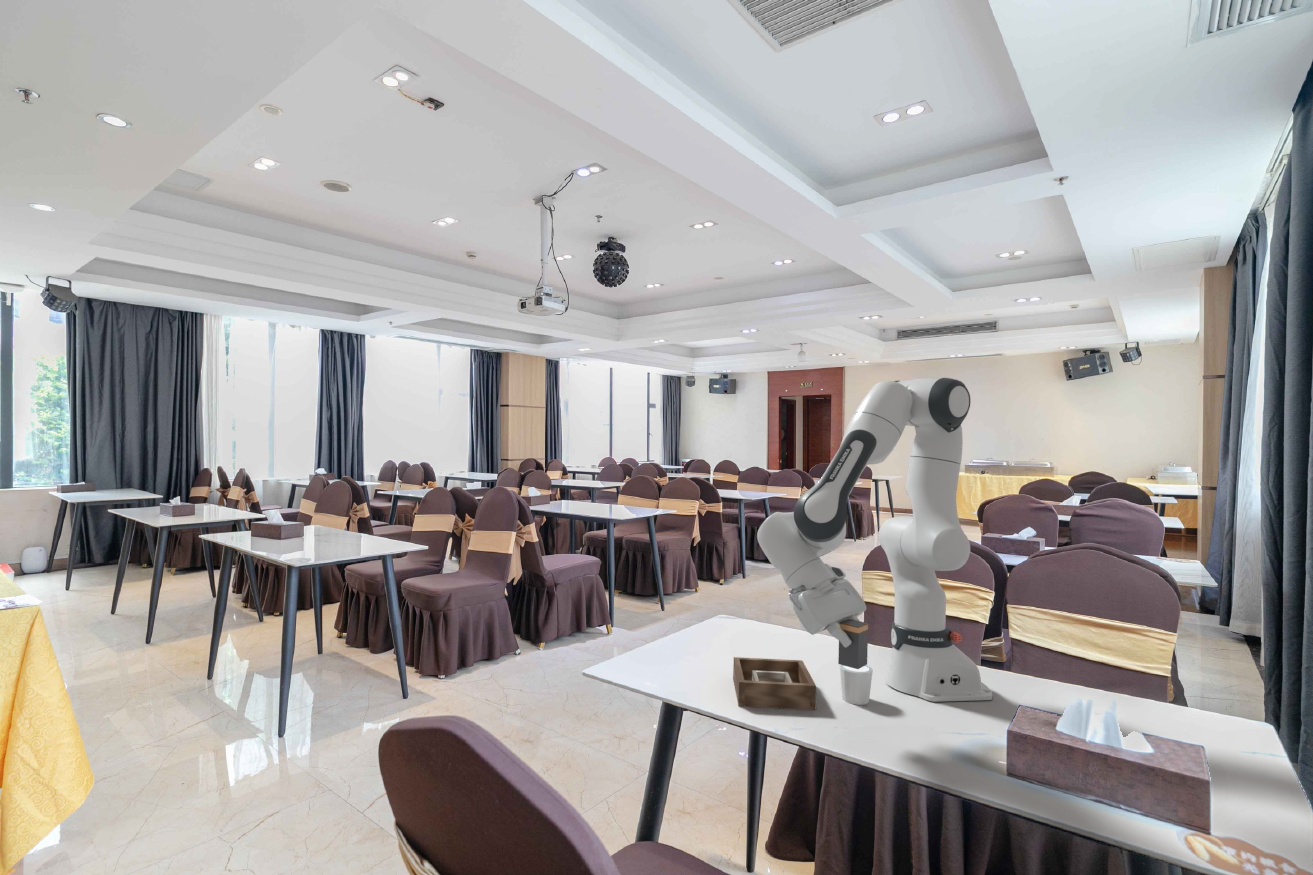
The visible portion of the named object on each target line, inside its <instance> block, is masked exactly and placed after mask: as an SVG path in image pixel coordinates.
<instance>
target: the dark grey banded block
mask: <svg viewBox="0 0 1313 875" xmlns="http://www.w3.org/2000/svg"><path fill="white" fill-rule="evenodd" d="M839 625H840V628H841V629H842V630H843V631H844V632H845V633H846V634H849V635H850V636H851V638H852V639H853V640H854V643H853V644H851V645H850V646H848V647H844V646H843V645H842V643H841V642H840V641H839V640H838V659H837V660H838V665H839V666H840V665H844V666H848V667H851V668H855V669H860V668H861V667H863V666H865V665H866V666H868V645H869V644H868V643H869V642H868V641H869V640H868V639H869V637H868V636H869V622H864V621H860V620H859V621H856V620H851V619H847V620H845V621H842V622H840V623H839Z"/></svg>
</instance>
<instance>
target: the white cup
mask: <svg viewBox="0 0 1313 875" xmlns="http://www.w3.org/2000/svg"><path fill="white" fill-rule="evenodd" d="M839 670H840V672H839V673H840V676H839V677H840V687H841V688H840V689H841V698H842V700H843V701H844V702H845V703H848V704H852V705H857V706H862V705H863V706H864V705H867V704H869V702H870V697H871V689H872V680H873V679H872V678H873V669H872V667H870V666H869V665H865V666H863V667H861V668H860V669H855V668H851V667H848V666H844V665H840V664H839Z"/></svg>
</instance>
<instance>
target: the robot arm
mask: <svg viewBox="0 0 1313 875" xmlns="http://www.w3.org/2000/svg"><path fill="white" fill-rule="evenodd" d="M971 401H972V400H971V395H970V391H969V390H968V388H967V386H966V385H965V383H964V382H963V381H961V380H959V379H956V378H955V379H954V378H952V377H951V378H950V377H941V378H938V377H937V378H936V377H918V378H917V377H916V378H912V379H905V380H882V381H879V382H877V383H875V384H874V385H873V386H872V387H871V388H870V389H869V390H868V392H867V393H866V395H865V396H864V397H863V398H862V400H861V402H860V403H859V404H858V406H857V407H856V410H854V413H853V415H852V416H851V418H850V420H849V422H848V424H847V427H846V428H845V431H844V433H843V436H842V437H843V438H842V440H841V443H840V444H839V445H840V446H839V448H838V450H837V451H836V453H835V455H834V456H833V458H832V460H831V461H830V463H829V465H828V466H827V467H826V469H825V472H824V473H823V474H822V476H821V478H820V479H819V480H818V482H816V484H814V485H813V486H812V487H810V488H809V489H808V490H807V491H806V492H804V493H803V494H802V495H801V496H800V497H799V498H798V500H797V501H796V502H795V505H794V509H793V511H791V512H780V511H775V512H773V513H771V514H769V515H768V517H766V518H765V519H764V520H763V521H762V523H761V524H760V525H759V528H758V529H757V534H756V539H757V543H758V544H759V546H760V548H761V550H762V552H763V553H764V555H765V557H766V558H767V559H768V561H769V563H771V565H772V567H773V568H774V569H776V570H777V571H778V572H779V573H780V574H781V577H782V579H783V581H784V584H786V586H787V587H788V589H789V591H788V598H789V600H790V602H791V607H792V610H793V611H794V612H793V613H795V615H796V617H797V619H798V620H799V622H800V623H801V625H802V626H803V628H804V630H805V631H806V632H807V633H809V634H810V635H815V634H818V633H821V632H823V631H827V632H828V634H829V635H831V636H832V637H833V638H835V639H836V640H838V642H839V641H840V642H841V643H842V645H843V646H844V647H848V646H850V645H851V644H853V643H854V640H853V639H852V638H851V636H850V635H849V634H846V633H845V632H844V631H843V630H842V629H841V628H840V625H839V623H840V622H842V621H845V620H847V619H851V620H856V621H860V619H859V618H858V617H859V616H860V615H862V614H863V613H864V612H866V611H867V605H866V602H865V601H864V598H862V596H861V595H860V593H859V592H858V591H857V589H856V588H855V587H854V586H853V584H852V583H851V582H850V581H849V580H848V579H845V577H846V573H845V572H844V570H842V568H840V567H836V566H832V565H830V564H828V563H824V561H823V560H822V558H821V557H823V556H824V555H827V554H830V553H831V552H833V551H835V550H836V549H838V548H839V547H840V546H841V545H842V544H843V543H844V542H845V539H846V536H847V523H846V522H847V515H848V514H847V511H848V510H847V508H848V507H847V503H848V499H849V497H850V494H851V493H852V491H853V489H854V487H855V486H856V484H857V483H858V480H859V479H860V477H861V475H862V473H863V472H864V470H865V469H866V467H867V466H868V465H869V466H870V465H878V464H881V463H883V462H884V461H886V460H887V458H888V457H889V456H890V455H891V453H892V452H893V451H894V448H895V447H896V446H897V444H898V442H899V440H900V438H902V437H901V436H902V435H903V433H904V430H905V428H906V426H907V427H914V429H915V430H914V431H915V435H914V439H913V443H912V446H911V450H910V456H909V461H908V467H907V474H906V480H905V486H904V488H905V489H904V490H905V492H906V493H907V494H906V495H908V497H909V499H910V503H911V508H912V516H911V515H900V516H894V517H890V518H888V519H886V520H885V521H884V522H883V523H882V524H881V526H880V528H879V529H878V530H879V531H878V542H879V544H880V546H881V548H882V550H884V552H885V556H886V558H887V561H888V565H889V568H890V573H891V577H892V582H893V588H894V614H893V615H894V621H892V622H891V624H892V625H891V636H890V637H891V639H890V640H891V646H892V652H891V655H890V656H891V657H890V661H889V662H890V663H889V667H888V671H887V675H886V678H885V683H886V685H888V686H889V687H891V688H892V689H895V690H897V691H899V692H902V693H905V694H908V695H912V696H916V697H918V698H920V699H923V700H926V701H929V702H935V703H938V702H968V701H973V702H975V701H991V700H993V692H992V690H991V688H989V686H987V685H986V684H985V683H983V682H982V680H981V679H982V678H981V673H980V669H979V668H978V666H977V664H976V663H975V662H974V661H973V660H972V659H971V658H970V657H969V656H968V655H966V653H964V652H963V651H962V650H961V649H959V648H958V647H957V646H956V645H955V644H954V642H955V643H957V644H958V643H961V642H962V641H963V636H962V635H961V634H960V633H958V632H957V631H953V630H951V629H950V628H948V627H947V626H946V619H947V616H946V615H947V614H946V612H947V596H946V592H945V590H944V588H943V587H942V585H941V583H940V582H939V580H938V576H937V574H936V572H938V571H939V572H950V571H951V572H952V571H956V570H959V569H961V568H962V567H963V566H964V565H966V563H967V561H968V560H969V558H970V554H971V543H970V540H969V538H968V536H967V535H966V534H965V532H964V531H963V529H962V527H961V523H960V520H959V514H958V513H959V512H958V506H957V493H958V492H957V491H958V485H959V478H960V471H961V464H962V458H963V444H964V443H963V441H964V440H963V428H962V423H963V421H964V420H965V419H966V418H967V416H968V414H969V410H970V408H971Z"/></svg>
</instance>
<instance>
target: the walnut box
mask: <svg viewBox="0 0 1313 875" xmlns="http://www.w3.org/2000/svg"><path fill="white" fill-rule="evenodd" d="M732 666H733V668H732V670H733V672H732V673H733V674H732V681H733V686H734V689H735V690H734V691H735V696H736V700H737V706H738V707H749V708H750V707H752V708H765V709H766V708H767V709H787V710H788V709H789V710H806V711H809V710H810V711H816V709H817V708H816V706H817V704H816V703H817V684H816V683H815V681H814V680H813V677H812V676H811V674H810V672H809V670H808V668H807V666H806V665H805V663H804V661H803V659H802V660H799V659H797V660H796V659H779V658H761V657H760V658H757V657H756V658H755V657H740V656H739V657H738V656H737V657H735V656H733V665H732Z"/></svg>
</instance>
